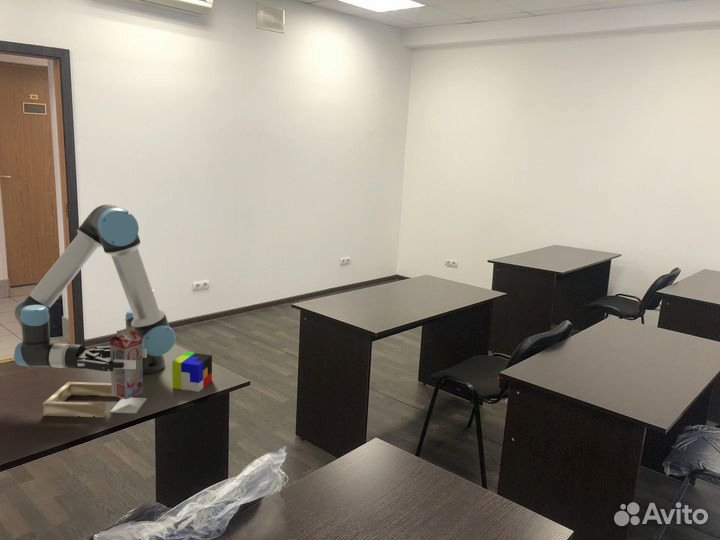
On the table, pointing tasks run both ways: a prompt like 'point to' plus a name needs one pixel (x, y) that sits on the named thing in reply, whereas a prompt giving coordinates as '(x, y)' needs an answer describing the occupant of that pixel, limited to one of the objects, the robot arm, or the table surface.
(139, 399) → the mat
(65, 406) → the open wooden frame
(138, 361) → the juice carton
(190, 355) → the puzzle toy
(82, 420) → the table surface
